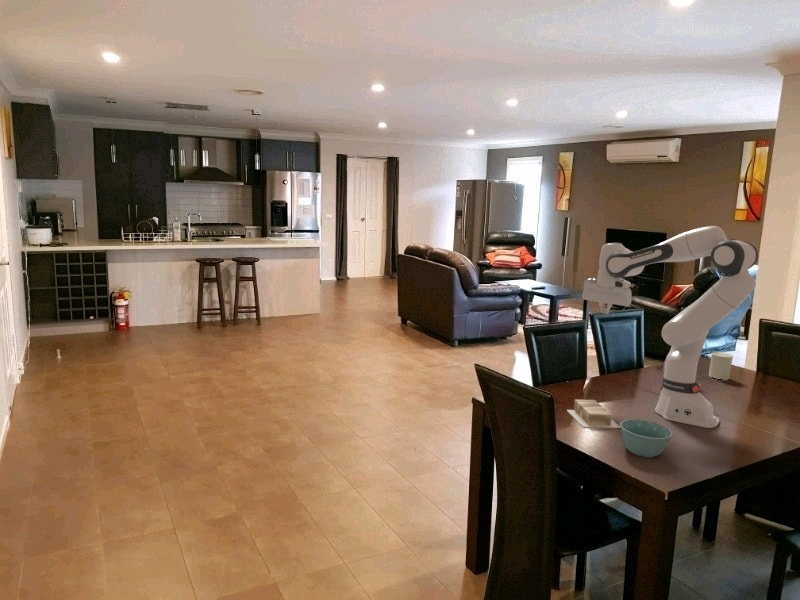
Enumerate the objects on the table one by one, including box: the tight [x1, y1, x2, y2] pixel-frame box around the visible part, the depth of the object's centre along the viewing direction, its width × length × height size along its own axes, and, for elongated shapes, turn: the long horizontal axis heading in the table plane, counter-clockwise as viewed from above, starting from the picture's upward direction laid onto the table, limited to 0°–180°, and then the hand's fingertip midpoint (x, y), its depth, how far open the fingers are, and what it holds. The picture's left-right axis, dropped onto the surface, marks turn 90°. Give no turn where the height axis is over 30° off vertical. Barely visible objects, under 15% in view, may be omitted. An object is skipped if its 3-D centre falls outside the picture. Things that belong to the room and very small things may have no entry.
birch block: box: [573, 398, 612, 425], centre depth 221 cm, size 4×8×16 cm
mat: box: [566, 409, 621, 429], centre depth 220 cm, size 17×14×1 cm
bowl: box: [619, 418, 673, 458], centre depth 192 cm, size 16×16×8 cm
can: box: [708, 351, 734, 381], centre depth 284 cm, size 9×9×12 cm
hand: (604, 313), depth 250 cm, fingers closed
